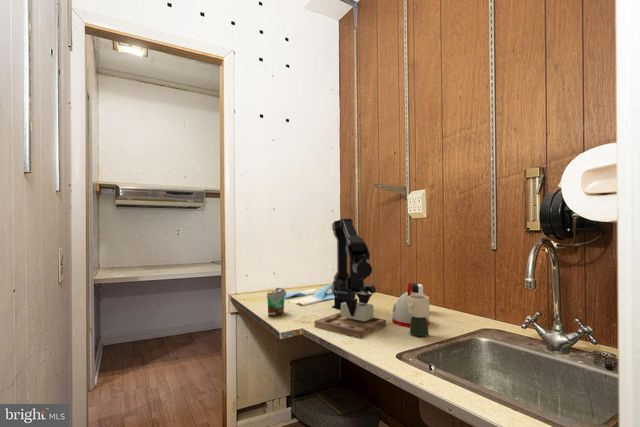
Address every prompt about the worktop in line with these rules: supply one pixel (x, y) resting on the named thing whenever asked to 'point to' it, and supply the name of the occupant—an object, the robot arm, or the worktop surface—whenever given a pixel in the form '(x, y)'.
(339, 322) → the brown recessed board
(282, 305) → the food container
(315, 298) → the rubber gloves
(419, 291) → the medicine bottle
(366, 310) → the pale green spotted block
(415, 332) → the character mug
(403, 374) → the worktop surface
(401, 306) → the kitchen timer
